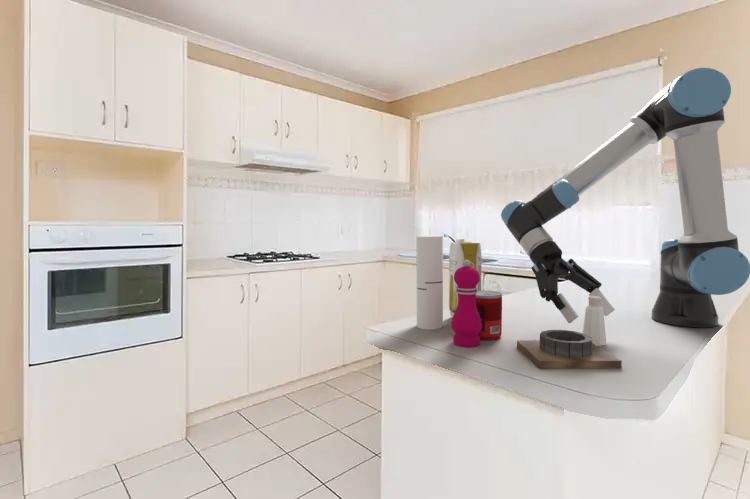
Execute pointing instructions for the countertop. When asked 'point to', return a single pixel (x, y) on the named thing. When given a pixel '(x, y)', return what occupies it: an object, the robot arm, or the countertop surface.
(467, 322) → the pepper mill
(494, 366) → the countertop surface
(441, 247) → the cylindrical container
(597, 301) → the pepper shaker
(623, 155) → the robot arm
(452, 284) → the juice carton
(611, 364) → the collar plate
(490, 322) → the canned food
